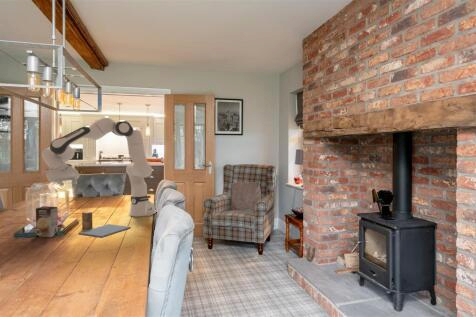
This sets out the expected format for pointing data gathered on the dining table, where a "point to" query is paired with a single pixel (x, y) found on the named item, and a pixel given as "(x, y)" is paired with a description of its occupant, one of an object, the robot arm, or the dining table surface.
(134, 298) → the dining table surface
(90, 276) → the dining table surface
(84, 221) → the walnut block
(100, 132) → the robot arm
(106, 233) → the mat
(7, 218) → the dining table surface
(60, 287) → the dining table surface
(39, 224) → the coffee box
